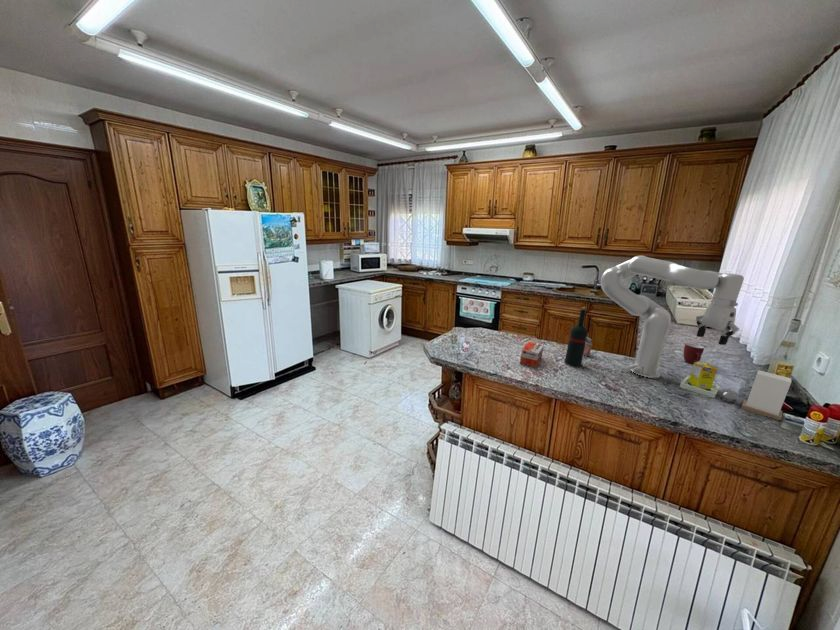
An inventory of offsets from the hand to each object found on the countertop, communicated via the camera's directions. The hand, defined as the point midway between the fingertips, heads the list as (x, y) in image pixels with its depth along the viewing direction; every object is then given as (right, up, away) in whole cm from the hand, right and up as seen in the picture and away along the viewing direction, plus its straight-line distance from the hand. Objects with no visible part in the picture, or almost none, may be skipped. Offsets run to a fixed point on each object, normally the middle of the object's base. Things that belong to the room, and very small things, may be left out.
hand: (710, 340), depth 142 cm
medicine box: (-71, -13, +25) cm, 76 cm away
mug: (+21, -16, +35) cm, 44 cm away
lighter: (-36, -11, +39) cm, 54 cm away
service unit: (+9, -27, -13) cm, 31 cm away
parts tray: (-1, -22, +4) cm, 23 cm away
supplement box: (-1, -22, +4) cm, 22 cm away
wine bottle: (-49, -14, +26) cm, 57 cm away
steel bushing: (+2, -25, -6) cm, 26 cm away
